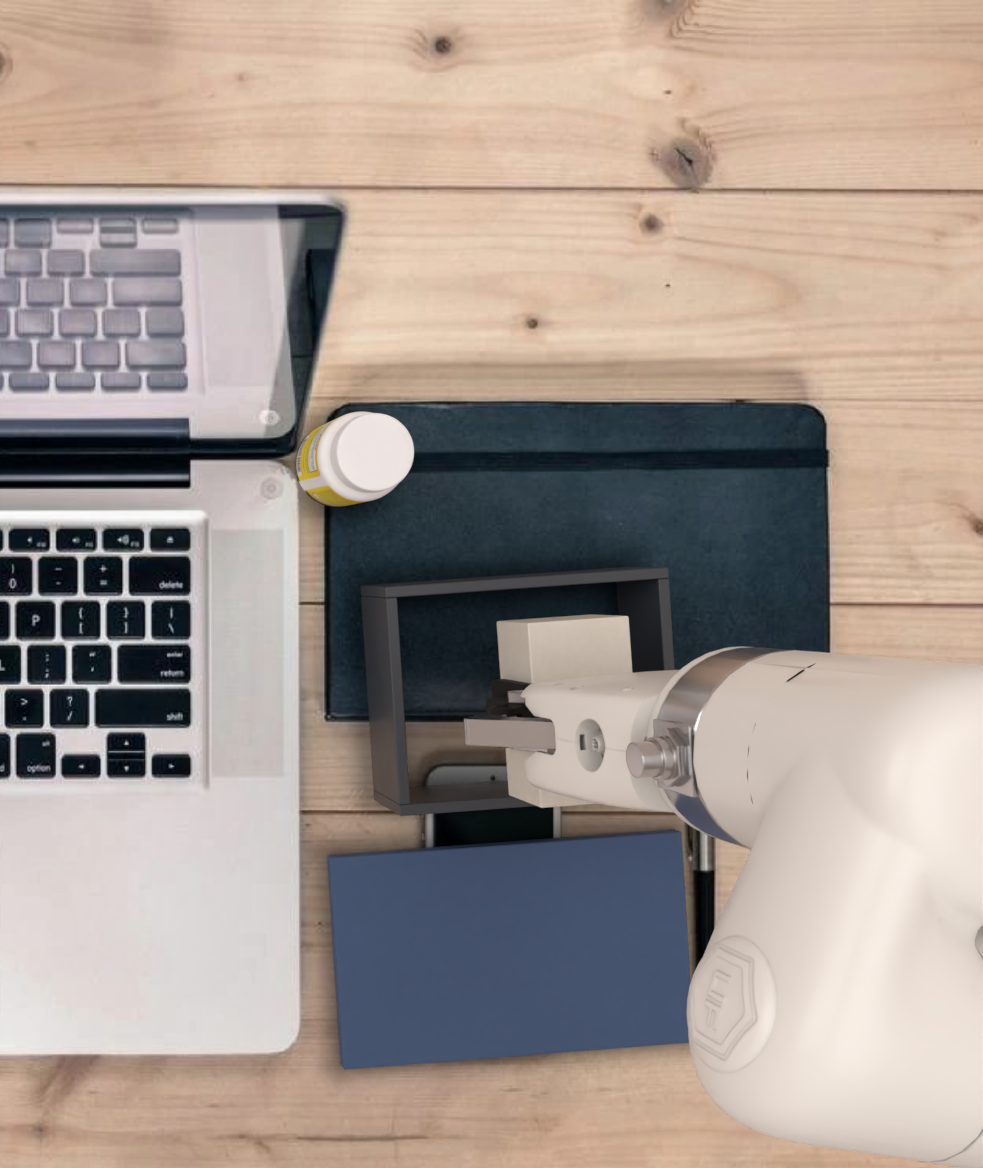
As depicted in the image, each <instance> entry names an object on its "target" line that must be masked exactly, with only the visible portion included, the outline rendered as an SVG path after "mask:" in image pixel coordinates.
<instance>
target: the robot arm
mask: <svg viewBox="0 0 983 1168" xmlns="http://www.w3.org/2000/svg"><path fill="white" fill-rule="evenodd" d="M491 696H492V697H488V698H486V701H485V707H484V708H485V713H480V714H476V715H471V716H467V717H463V726H464V727H463V728H464V743H465V746H473V747H474V746H476V747H477V746H478V747H495V748H497V747H498V748H500V749H501V748H505V749H506V748H509V747H511V749H515V750H522V751H529V752H534V753H533V754H531V755H530V756H529V757H528V758H527V759H525V760H524V762H523V763H524V770H525V776H526V780H527V781H528V782H529V783H530V784H531V785H533V786H534V787H536V788H538V789H541V790H544V791H548V792H552V793H555V794H559V795H563V796H567V797H571V798H575V799H580V800H584V801H588V802H593V803H598V804H597V805H604V806H609V807H615V808H620V809H621V808H622V809H627V810H637V811H647V812H658V813H659V812H660V813H672V814H673V813H674V815H676V816H677V817H678V818H679V819H680V820H681V821H683V822H684V823H685V824H687V825H688V826H689V827H691V828H692V829H694V830H696V831H698V832H700V833H701V834H704V835H706V836H709V837H711V838H714V839H717V840H720V841H723V842H727V843H729V844H732V845H735V846H738V847H741V848H744V849H747V850H750V851H749V853H748V855H747V858H746V860H745V862H744V864H743V866H742V869H741V870H740V873H739V875H738V877H737V879H736V881H735V884H734V885H733V888H732V890H731V892H730V894H729V897H728V899H727V901H726V903H725V905H724V907H723V910H722V912H721V914H720V916H719V919H718V920H717V922H716V924H715V927H714V929H713V931H712V934H711V935H710V938H709V941H708V943H707V945H706V948H705V950H704V953H703V955H702V957H701V958H700V960H699V962H698V964H697V966H696V968H695V970H694V972H693V974H692V977H691V979H690V981H691V983H690V987H689V992H688V998H687V1024H688V1037H689V1043H688V1046H689V1052H690V1057H691V1061H692V1065H693V1068H694V1072H695V1074H696V1077H697V1078H698V1080H699V1082H700V1084H701V1085H702V1086H701V1087H702V1089H704V1091H705V1093H706V1094H707V1095H708V1097H709V1098H710V1099H711V1101H712V1102H713V1103H714V1104H715V1105H716V1106H717V1108H719V1109H720V1110H721V1111H722V1112H723V1113H725V1115H727V1116H728V1117H729V1118H731V1119H733V1120H734V1121H735V1122H737V1123H738V1124H740V1125H741V1126H744V1127H746V1128H747V1129H749V1130H752V1131H753V1132H756V1133H759V1134H762V1135H765V1136H767V1137H769V1138H774V1139H776V1140H777V1139H778V1140H782V1141H786V1142H789V1143H794V1144H800V1145H806V1146H812V1147H818V1148H823V1149H825V1148H826V1149H831V1150H832V1149H833V1150H838V1151H846V1152H854V1153H859V1154H867V1155H868V1154H869V1155H873V1156H874V1155H876V1156H882V1157H888V1158H889V1157H890V1158H896V1159H903V1160H909V1161H916V1162H919V1163H923V1164H929V1165H930V1164H931V1165H937V1166H943V1167H951V1168H983V663H975V662H963V661H962V662H960V661H948V660H934V659H922V658H921V659H920V658H909V657H893V656H881V655H867V654H849V653H848V654H847V653H846V654H845V653H835V652H825V651H813V650H800V649H789V648H787V649H786V648H772V647H760V646H759V647H758V646H742V645H741V646H740V645H739V646H728V647H723V648H720V649H716V650H713V651H709V652H707V653H704V654H702V655H700V656H698V657H696V658H695V659H692V660H691V661H690V662H688V663H687V664H686V665H683V667H681V668H680V669H675V670H665V671H647V672H636V673H624V674H613V675H603V676H593V677H583V678H574V679H566V680H558V681H549V682H540V683H533V684H531V683H525V682H519V681H514V680H508V679H501V678H497V679H496V678H495V679H492V681H491ZM540 717H541V718H540Z"/></svg>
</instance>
